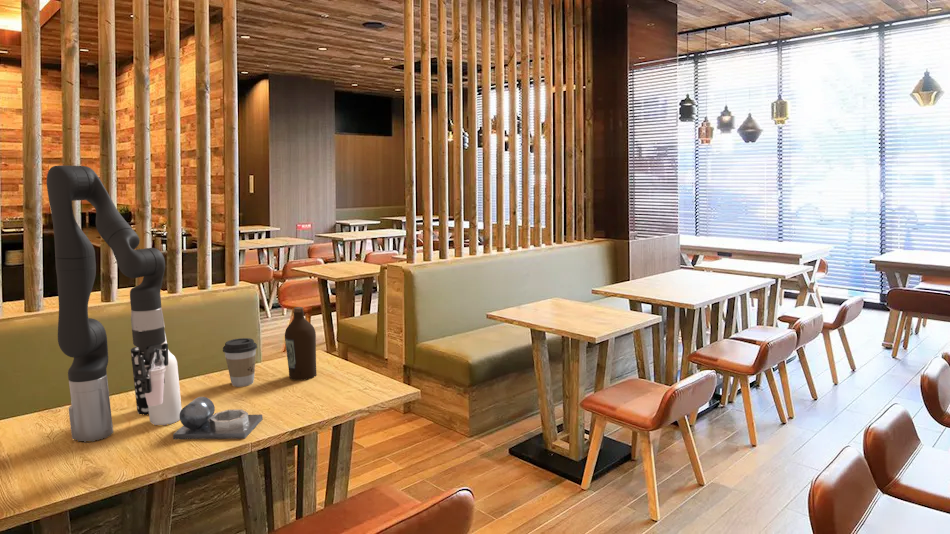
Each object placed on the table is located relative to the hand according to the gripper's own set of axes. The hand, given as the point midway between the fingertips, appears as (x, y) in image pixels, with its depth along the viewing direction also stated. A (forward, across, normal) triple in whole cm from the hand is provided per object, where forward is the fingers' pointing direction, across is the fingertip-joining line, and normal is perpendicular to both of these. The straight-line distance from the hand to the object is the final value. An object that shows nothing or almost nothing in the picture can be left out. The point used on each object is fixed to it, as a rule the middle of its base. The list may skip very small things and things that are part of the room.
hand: (153, 388), depth 173 cm
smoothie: (+4, 0, 0) cm, 4 cm away
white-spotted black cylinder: (+18, -30, -18) cm, 39 cm away
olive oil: (+17, -62, +20) cm, 67 cm away
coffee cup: (+17, -55, +1) cm, 58 cm away
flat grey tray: (+17, -14, +10) cm, 24 cm away
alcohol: (+17, -21, -9) cm, 29 cm away
